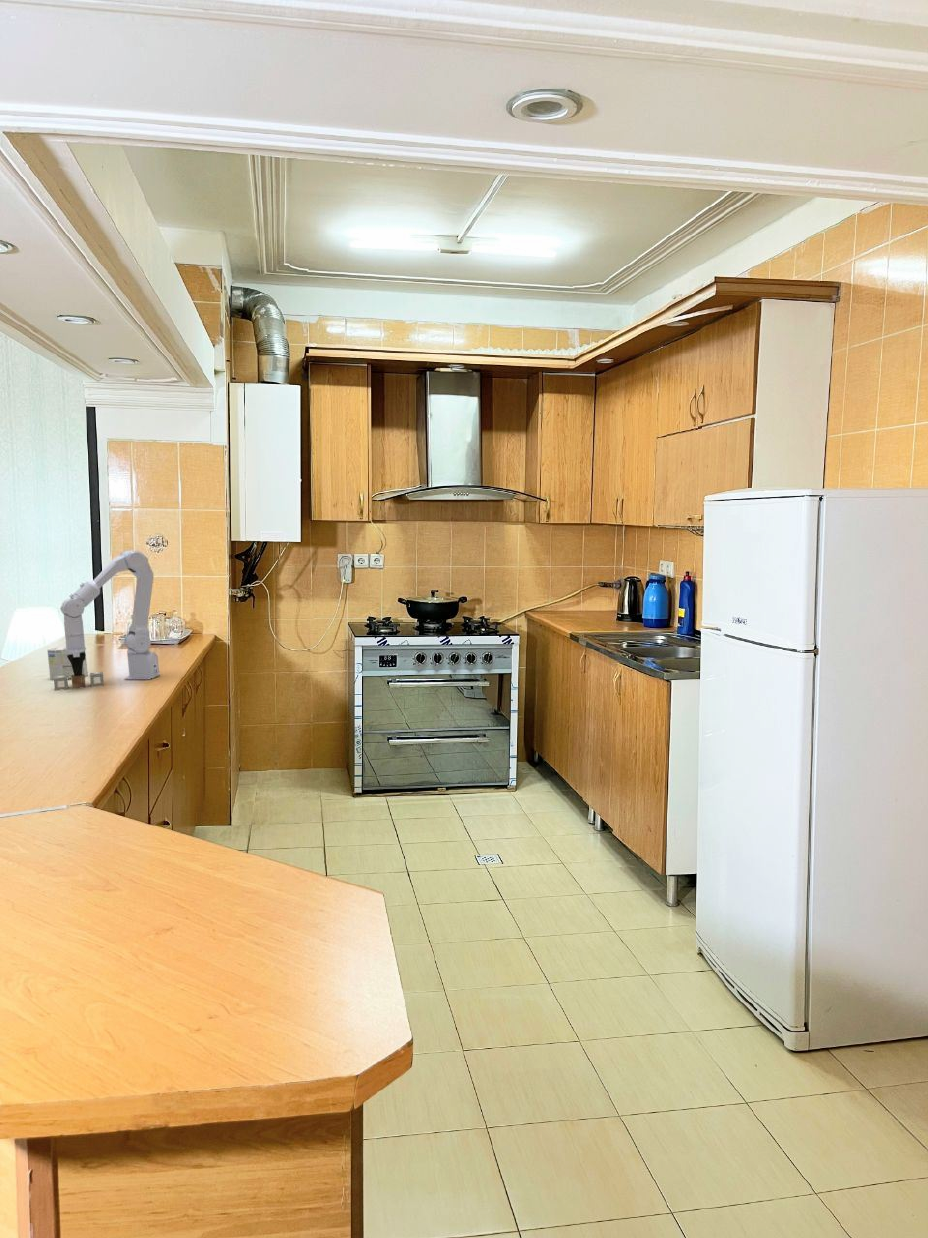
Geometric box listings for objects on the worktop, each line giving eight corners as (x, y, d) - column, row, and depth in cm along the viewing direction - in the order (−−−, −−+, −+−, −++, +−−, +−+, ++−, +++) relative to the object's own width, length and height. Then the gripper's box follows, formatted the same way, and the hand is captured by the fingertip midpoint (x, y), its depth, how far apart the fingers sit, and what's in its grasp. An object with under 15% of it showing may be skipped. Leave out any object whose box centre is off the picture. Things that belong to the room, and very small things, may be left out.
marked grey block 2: (103, 683, 301) (102, 671, 300) (104, 685, 297) (102, 673, 296) (90, 684, 299) (89, 672, 298) (91, 686, 295) (90, 674, 295)
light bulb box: (88, 675, 315) (85, 645, 314) (78, 679, 308) (75, 649, 307) (60, 676, 316) (57, 646, 315) (49, 679, 310) (46, 649, 308)
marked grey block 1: (68, 687, 296) (67, 674, 296) (68, 689, 293) (67, 677, 292) (55, 688, 295) (53, 676, 294) (54, 690, 291) (53, 678, 290)
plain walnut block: (85, 685, 298) (84, 673, 298) (85, 687, 295) (84, 675, 294) (72, 686, 297) (71, 674, 296) (72, 688, 293) (71, 677, 293)
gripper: (61, 633, 298) (65, 673, 300) (61, 639, 285) (65, 680, 287) (84, 631, 301) (87, 670, 303) (85, 637, 288) (88, 678, 290)
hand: (78, 675), depth 295 cm, fingers closed, pressing on plain walnut block
